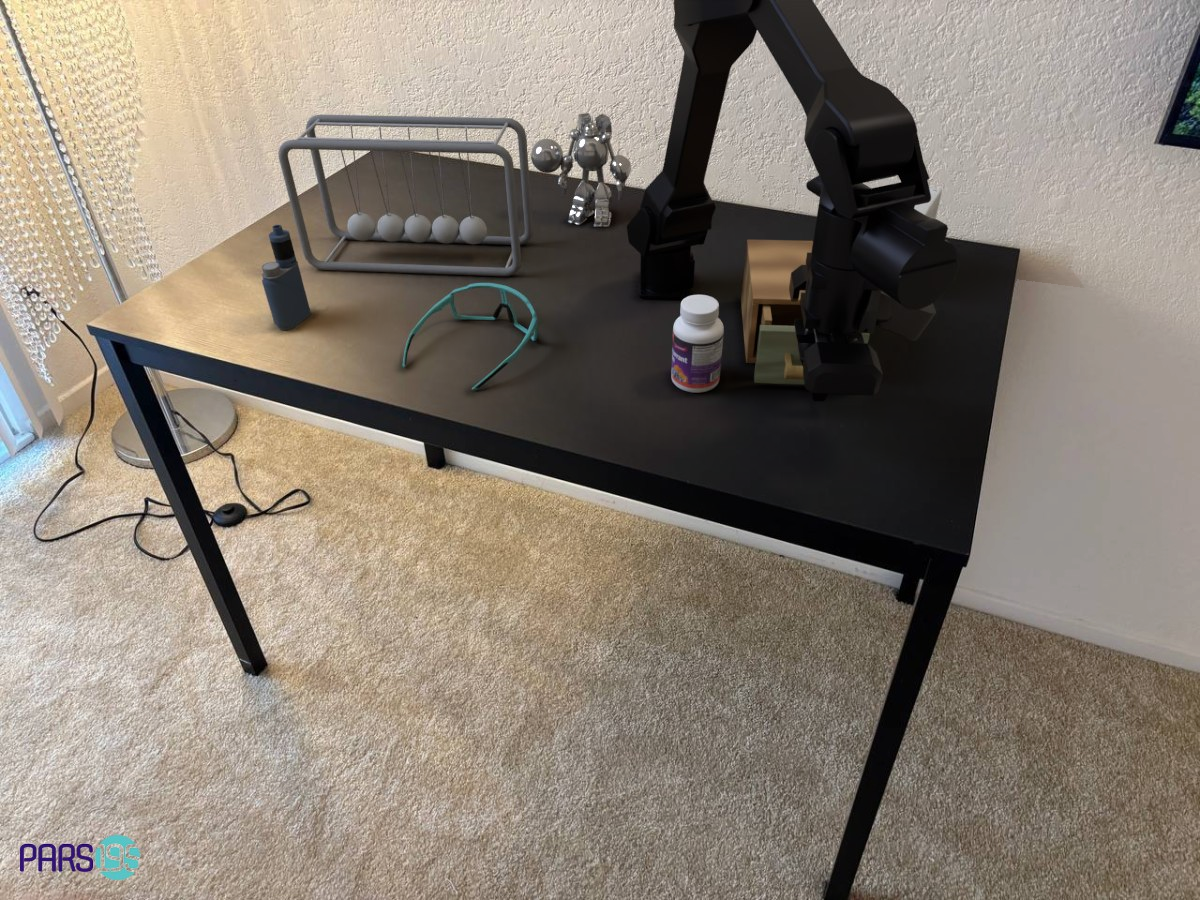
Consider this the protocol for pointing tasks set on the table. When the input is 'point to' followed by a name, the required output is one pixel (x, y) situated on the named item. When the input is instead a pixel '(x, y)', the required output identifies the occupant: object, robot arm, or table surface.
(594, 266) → the table surface
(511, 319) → the sunglasses
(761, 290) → the cabinet
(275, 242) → the vaping device
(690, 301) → the pill bottle
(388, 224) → the newton's cradle
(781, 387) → the table surface
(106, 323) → the table surface
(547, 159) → the robot toy
